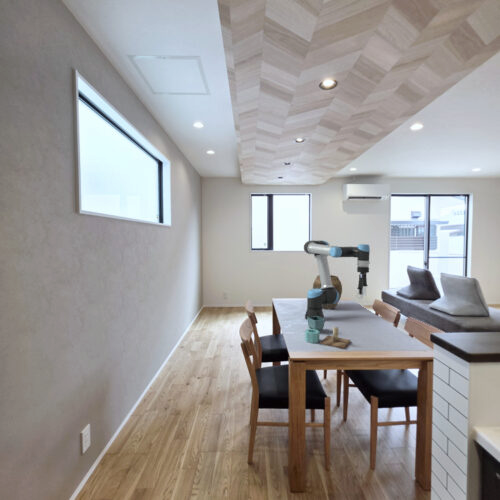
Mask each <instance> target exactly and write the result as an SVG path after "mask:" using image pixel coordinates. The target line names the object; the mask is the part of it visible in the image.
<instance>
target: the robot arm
mask: <svg viewBox="0 0 500 500" xmlns="http://www.w3.org/2000/svg"><path fill="white" fill-rule="evenodd" d="M303 250H304V252H305V253H306V254H308V255H314V258H315V259H316V263H317V269H318V274H319V275H320V281H321V288H320V289H313V288H312V289H309V290H308V291H307V295H306V298H307V302H306V303H307V305H306V308H307V309H306V311H305V314H304V319H306V320H307V317H313V316H318V317H321V318H324V319H325V314H324V312H323V309H322V305H329V304H330V305H331V304H335V303H337V302H338V300H339V293H338V292H337V290H335V288H334V286H332V282H331V276H330V275H331V273H330V266H329V261H328V257H329V256H330V257H332V258H334V259H335V258H356V259H357V260H356V261H357V263H356V266H357V268H356V270H357V271H356V272H357V273H360V274H358V285H357V290H358V295H357V298H358V300H359V299H360V300H364V299H363V297H365V296H367V287H368V284H367V280H368V279H367V274H369V272H370V267H369V266H370V264H371V262H370V251H371V250H370V244H362V243H361V244H360V243H359V244H358V245H357V246H337V245H336V246H335V245H330V243H329V242H328V241H326V240H308V241H306V242H305V243H304V245H303ZM319 275H318V276H319ZM339 301H340V300H339ZM338 303H339V302H338Z"/></svg>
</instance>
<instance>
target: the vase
mask: <svg viewBox="0 0 500 500" xmlns="http://www.w3.org/2000/svg"><path fill="white" fill-rule="evenodd" d="M330 276H331V282H332V286H334V288H335V290H337V292H338V293H339V300H338V302H337V303H335V304H331V305H330V304H329V305H322V310H328V309H330V310H334V309H335V308H336V306H338V304H339V302H340V300H341V297H342V293H343V286H342V285H343V283H342V281H341V280H340V278H339V276H337V275H332V274H330ZM315 277H316V278H315V279H314V281H313V283H312V289H320V288H321V281H320V275H317V276H315Z"/></svg>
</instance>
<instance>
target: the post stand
mask: <svg viewBox="0 0 500 500" xmlns="http://www.w3.org/2000/svg"><path fill="white" fill-rule="evenodd" d="M332 330H333V331H332V335H327V336H325V337H324V338H323V339H322V340H321V341H319V342H320V345H322V346H323V345H324V346H327V347H328V346H329V347H332V348H336V349H341V350H345V349H346V348H347V346H349V344H350V343H351V339H347V338H343V337H339V327H338V326H337V327H336V326H334V327H333V329H332Z"/></svg>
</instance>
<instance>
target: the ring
mask: <svg viewBox="0 0 500 500" xmlns="http://www.w3.org/2000/svg"><path fill="white" fill-rule="evenodd" d="M304 341H305V342H306V343H309V344H318V343H319V342H320V332H319V331H318V330H315V329H310V328H308V329H306V330H304Z"/></svg>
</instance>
